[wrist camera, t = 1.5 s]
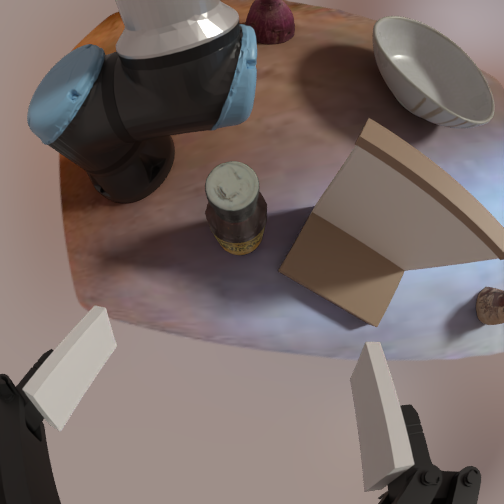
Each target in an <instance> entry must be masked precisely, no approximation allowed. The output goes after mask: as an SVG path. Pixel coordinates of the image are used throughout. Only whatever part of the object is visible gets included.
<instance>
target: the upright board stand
mask: <svg viewBox="0 0 504 504" xmlns="http://www.w3.org/2000/svg"><path fill="white" fill-rule="evenodd" d="M355 145H356V146H355V148H354V149H353V151H352V152H351V154H350V155H349V157H348V158H347V159H346V161H345V162H344V164H343V165H342V167H341V168H340V170H339V171H338V173H337V174H336V176H335V177H334V179H333V180H332V182H331V183H330V185H329V186H328V187H327V189H326V190H325V192H324V193H323V195H322V196H321V198H320V199H319V201H318V202H317V203H316V205H315V206H314V208H313V210H312V212H311V214H310V215H309V217H308V219H307V221H306V223H305V224H304V226H303V228H302V230H301V232H300V233H299V235H298V237H297V239H296V240H295V242H294V244H293V246H292V247H291V249H290V251H289V253H288V254H287V256H286V258H285V260H284V261H283V263H282V265H281V267H280V268H279V270H278V272H280V273H282V274H283V275H285V276H287V277H289V278H290V279H292V280H294V281H295V282H297V283H299V284H301V285H302V286H304V287H306V288H307V289H309V290H311V291H313V292H314V293H316V294H318V295H319V296H321V297H323V298H325V299H326V300H328V301H330V302H331V303H333V304H335V305H337V306H338V307H340V308H342V309H343V310H345V311H347V312H349V313H350V314H352V315H354V316H356V317H357V318H359V319H361V320H362V321H364V322H366V323H368V324H369V325H372V326H375V327H377V326H378V324H379V323H380V321H381V319H382V317H383V315H384V313H385V311H386V309H387V307H388V305H389V303H390V301H391V299H392V297H393V295H394V293H395V291H396V289H397V287H398V284H399V282H400V280H401V278H402V276H403V273H404V271H407V270H415V269H424V268H432V267H440V266H448V265H455V264H463V263H470V262H477V261H484V260H491V259H497V258H499V259H500V260H503V259H504V227H503V226H502V225H501V224H500V223H499V222H498V221H497V220H496V219H495V218H494V217H493V216H492V214H491V213H490V212H489V211H488V210H487V209H486V208H485V207H484V206H483V205H482V204H481V203H480V202H479V201H478V200H477V199H476V198H474V197H473V196H472V195H471V194H470V193H469V192H468V191H467V190H466V189H465V188H464V187H463V186H461V185H460V184H459V183H458V182H457V181H456V180H455V179H453V178H452V177H451V176H450V175H449V174H448V173H446V172H445V171H444V170H443V169H441V168H440V167H439V166H438V165H437V164H435V163H434V162H433V161H431V160H430V159H429V158H428V157H426V156H425V155H424V154H422V153H421V152H420V151H418V150H417V149H415V148H414V147H413V146H411V145H410V144H409V143H407V142H406V141H404V140H403V139H401V138H400V137H398V136H397V135H395V134H394V133H392V132H391V131H389V130H388V129H386V128H385V127H383V126H381V125H380V124H378V123H377V122H375V121H373V120H372V119H370V118H369V119H368V120H367V122H366V124H365V125H364V127H363V129H362V131H361V133H360V135H359V137H358V139H357V141H356V143H355Z"/></svg>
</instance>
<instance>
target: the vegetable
mask: <svg viewBox="0 0 504 504" xmlns="http://www.w3.org/2000/svg"><path fill="white" fill-rule="evenodd" d="M246 26H251V27H252V28H253V29H254V31H255V35H256V41H257V42H258V43H263V44H279V43H284V42H286V41H288V40H289V39H291V38H292V37H293V36H294V31H295V24H294V17H293V14H292V12H291V10H290V9H289V8H288V6H287V5H286V4H285V3H284V2H283V1H282V0H255V1H254V2H253V4H252V6H251V8H250V11H249V13H248V16H247V19H246Z"/></svg>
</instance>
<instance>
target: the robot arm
mask: <svg viewBox="0 0 504 504" xmlns="http://www.w3.org/2000/svg"><path fill="white" fill-rule="evenodd" d="M115 1H116V4H117V7H118V9H119V12H120V15H121V17H122V20H123V23H124V25H125V29H124V31H123V33H122V35H121V36H120V38H119V40H118V42H117V44H116V51H117V52H114V53H112V54H109V55H105V53H104V50H103V49H102V48H99V47H98V46H96V45H92V44H88V45H84V46H81V47H79V48H77V49H75V50H73V51H72V52H70V53H69V54H67V55H66V56H65V57H63V58H62V59H61V60H60V61H59V62H58V63H57V64H56V65H55V66H54V67H53V68H52V69H51V70H50V71H49V72H48V73H47V75H46V76H45V77H44V78H43V80H42V81H41V83H40V84H39V86H38V88H37V89H36V91H35V93H34V95H33V97H32V100H31V102H30V105H29V109H28V116H27V119H28V125H29V127H30V129H31V130H32V132H33V133H34V134H35V135H37V136H38V137H39V138H40V139H41V140H42V142H43V143H44V144H47V145H49V146H50V147H52V148H53V149H55V150H56V151H58V152H59V153H61V154H62V155H64V156H65V157H67V158H68V159H69V160H71V161H72V162H74V163H75V164H77V165H78V166H80V167H81V168H83V169H84V170H86V172H87V174H88V176H89V178H90V179H91V181H92V183H93V185H94V187H95V188H96V190H97V191H98V192H99V193H100V194H102V195H103V196H105V197H106V198H108V199H110V200H112V201H114V202H118V203H131V202H135V201H138V200H141V199H143V198H145V197H146V196H148V195H150V194H151V193H152V192H154V191H155V190H156V189H157V188H158V187H159V186H160V185H161V184H162V183H163V181H164V180H165V178H166V177H167V175H168V173H169V172H170V169H171V167H172V164H173V160H174V152H175V151H174V143H173V140H172V138H171V136H170V135H176V134H183V133H190V132H197V131H206V130H210V131H211V130H216V129H217V128H221V127H227V126H233V125H238V124H241V123H242V122H244V121H246V120H247V119H248V117H249V116H250V114H251V111H252V107H253V103H254V96H255V88H256V71H257V70H256V66H255V65H256V58H257V42H256V35H255V31H254V29H253V28H252V27H251V26H246V25H244V24H243V25H242V24H240V25H239V16H238V13H237V12H236V10H234V9H233V8H231V7H229V6H228V5H226V4H224V3H222V2H220V0H115ZM116 347H117V344H116V342H115V338H114V335H113V332H112V328H111V325H110V322H109V318H108V314H107V311H106V308H104V307H100V306H96V305H95V306H94V307H93V308H92V309H91V310H90V311H89V312H88V313H87V314H86V315H85V316H84V318H83V319H82V320H81V321H80V322H79V323H78V324H77V325H76V326H75V327H74V329H73V330H72V331H71V332H70V333H69V334H68V335H67V336H66V338H64V340H63V341H62V342H61V343H60V344H59V346H57V348H56V349H55V350H52V349H51V350H49V351H47V352H46V353H44V354H43V355H42V356H41V357H40V359H39V360H38V362H37V363H35V364H34V366H33V368H31V369H30V370H29V372H28V373H27V374H26V375H25V377H24V378H23V379H22V380H21V381H20V383H19V384H18V385H17V386H16V387H15V385H14V384H13V382H12V381H11V379H10V378H9V377H8V376H7V375H5V374H0V504H61V502H60V499H59V496H58V492H57V489H56V485H55V481H54V477H53V473H52V468H51V464H50V459H49V454H48V448H47V442H46V435H45V429H44V424H43V422H42V421H43V419H45V420H46V421H47V422H48V424H49V425H51V426H52V427H54V428H56V429H57V430H59V431H61V430H62V429H63V427H64V426H65V424H66V422H67V421H68V419H69V418H70V416H71V414H72V413H73V411H74V410H75V408H76V406H77V405H78V403H79V402H80V400H81V399H82V397H83V396H84V394H85V392H86V391H87V389H88V388H89V386H90V385H91V383H92V382H93V380H94V379H95V377H96V376H97V374H98V373H99V371H100V370H101V368H102V367H103V365H104V364H105V363H106V361H107V360H108V358H109V357H110V355H111V354H112V352H113V351H114V350H115V348H116ZM350 382H351V387H352V394H353V400H354V406H355V413H356V419H357V427H358V434H359V442H360V450H361V459H362V469H363V480H364V491H365V492H367V491H374V490H380V489H383V488H384V487H385V486H386V485H388V491H387V492H385V493H384V494H382V495H381V496H380V497H379V499H381V498H382V499H381V501H380V502H379V503H378V504H477V500H478V495H479V490H480V483H481V474H480V472H479V470H478V469H477V468H476V467H473V466H468V467H465V468H464V469H462V470H461V471H460V472H450V471H441V470H440V469H439V468H438V467H437V466H435V465H433V464H432V462H431V460H430V456H429V452H428V448H427V444H426V440H425V437H424V433H423V429H422V426H421V425H420V423H421V422H420V419H419V416H418V413H417V412H416V410H415V409H414V408H413V406H412V405H402V406H400V404H399V400H398V397H397V393H396V390H395V386H394V383H393V380H392V377H391V374H390V370H389V368H388V364H387V361H386V358H385V355H384V352H383V349H382V347H381V344H380V342H365V345H364V347H363V350H362V352H361V355H360V357H359V360H358V362H357V365H356V367H355V369H354V372H353V374H352V376H351V378H350Z"/></svg>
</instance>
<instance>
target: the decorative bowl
mask: <svg viewBox="0 0 504 504" xmlns="http://www.w3.org/2000/svg"><path fill="white" fill-rule="evenodd" d="M373 49H374V55H375V59H376V63H377V66H378V68H379V71H380V73H381V75H382V77H383V79H384V81H385V83H386V84H387V86H388V87H389V89H390V90H391V91H392V93H393V94H394V96H395V98H396V99H397V100H398V102H399V103H400V104H401V105H402V106H403V107H404V108H406V109H407V110H408V111H409V112H411V113H412V114H414V115H416V116H418V117H420V118H423V119H425V120H427V121H429V122H432V123H434V124H437V125H441V126H445V127H450V128H471V127H476V126H480V125H483V124H486V123H487V122H489V121H490V120H491V119H492V117H493V115H494V99H493V95H492V92H491V90H490V87H489V85H488V83H487V81H486V79H485V78H484V76H483V74H482V73H481V71H480V70H479V68H478V67H477V66H476V64H475V63H474V62H473V61H472V60H471V58H470V57H469V56H468V55H467V54H466V53H465V52H464V51H463V50H462V49H461V48H460V47H459V46H457V45H456V44H455V43H454V42H453V41H451V40H450V39H449V38H447V37H446V36H444V35H443V34H441V33H440V32H439V31H437V30H435V29H433V28H431V27H430V26H428V25H426V24H423V23H421V22H419V21H416V20H413V19H410V18H406V17H399V16H388V17H384V18H381V19H379V20H378V21H377V22H376V23H375V25H374V28H373Z"/></svg>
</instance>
